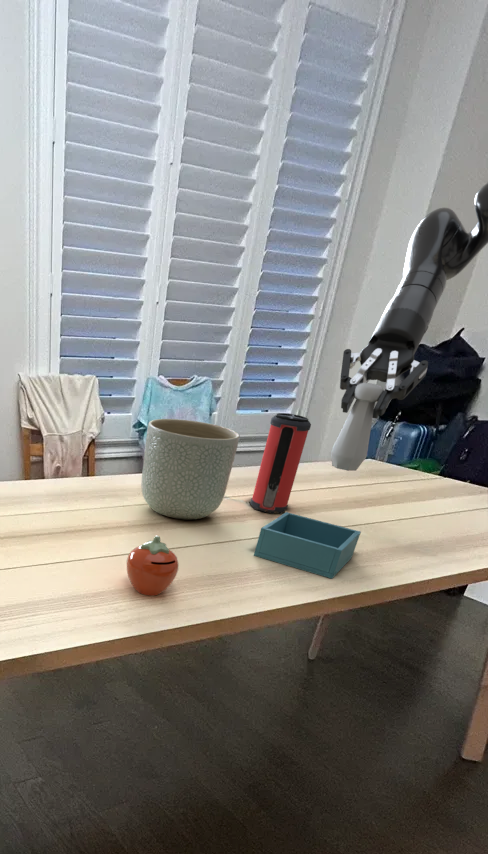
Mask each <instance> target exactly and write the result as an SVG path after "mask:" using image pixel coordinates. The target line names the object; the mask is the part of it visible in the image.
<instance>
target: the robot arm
mask: <svg viewBox="0 0 488 854" xmlns="http://www.w3.org/2000/svg"><path fill="white" fill-rule="evenodd" d="M473 204H474V210H475V214H476V219H477V223H476V224H475V226H474V227H473V228H472V229H471V230H470V231H469V232H467V230H466V228H465V227H464V225H463V223H462V221H461V220H460V217H459V216H458V215H457V213H456V212H455V211H454V210H453V209H451V208H449V207H438V208H436V209H434V210H432V211H430V212H429V213H428V214H426V215H425V217H423V218H422V219H421V220H420V221H419V223H418V225H417V226H416V228H415V229H414V231H413V233H412V234H411V237H410V240H409V242H408V245H407V249H406V255H405V262H404V265H403V270H402V279H401V280H400V282H399V284H398V286H397V288H396V289H395V293H394V294H393V296H392V298H391V299H390V300H389V302H388V303H387V305H386V307H385V309H384V311H383V313H382V315H381V317H380V318H379V321H378V323H377V325H376V327H375V328H374V331H373V333H372V335H371V337H370V339H369V340H368V343H367V345H366V346H365V347H363V348H362V349H361V350H360V351H357V352H352V349H350V348H346V349H345V350H344V351H343V353H342V362H341V370H340V379H339V380H340V381H339V383H340V384H339V390H342V391H344V390H345V391H344V394H343V396H342V398H341V403H340V409H341V410H342V413H344V414H348V412H349V410H350V408H351V406H352V404H353V402H354V400H355V398H354V391H355V389H356V387H357V385H359V384H361V383H369V382H370V381H379V382H381V383H385V388H384V389H383V391H382V393H381V395H380V398H379V400H378V402H376V403H375V406H374V411H373V417H372V419H378V418H379V416H381V417H382V416H383V415H384V414H385V413H386V410H387V408H388V407H389V404H390V402H391V401H392V400H394V399H397V400H398V401H403V400H404V399H406V397H408V395H409V394H410V393H411V392H412V391H413V390H414V389H415V388H416V387H417V386H418V384H419V383H421V381H422V380H423V379H424V378H425V377H426V375H427V371H428V366H429V361H428V360H425V359H424V360H421V361H420V362H419V361H418V360H415V354H416V352H417V350H418V348H419V346H420V344H421V342H422V340H423V337H424V335H425V334H426V333H427V332H428V331H427V330H428V329H429V325H430V323H431V321H432V319H433V315H434V312H435V310H436V308H437V305H438V303H439V301H440V299H441V297H442V295H443V293H444V291H445V288H446V285H447V281H449V280H451V279H453V278H454V277H456V276H457V275H459V274H460V273H461V272H462V271H464V269H465V268H466V267H467V266H468V265H469V264H470V263H471V262H472V261H473V260H474V259H475V258H476V256H477V255H478V254H479V253H480V252H481V251H482V250H483V249H484V248H485V247H486V246H487V245H488V182H486V183H485V184H484V185H482V186H481V187H480V189H479V190H478V191H477V192H476V194H475V195H474V200H473ZM357 362H359V363H360V367H359V368H358V369H357V372H356V373H355V374H354V376H352V377H350V370H352V369H353V368H354V367H355V366H356V364H357ZM409 370H410V371H409ZM408 371H409V374H408V375H407V376H406V377H405V378H404V379H403V380H402V382H400V383H399V384H398V385H395V384H396V378H397V377H399V376H401V375H402V374H404V373H405V372H408Z"/></svg>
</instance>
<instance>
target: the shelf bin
mask: <svg viewBox="0 0 488 854" xmlns="http://www.w3.org/2000/svg"><path fill="white" fill-rule="evenodd" d="M361 533H362V532H361V530H357V529H352V528H348V527H345V526H341V525H337V524H334V523H330V522H326V521H323V520H318V519H314V518H310V517H307V516H304V515H300V514H295V513H292V512H288V511H285V512H283V513H282V514H281V515H279V516H278V517H276V518H275V519H273V520H272V521H270V522H268V523H267V524H265V525H264V526H262V527H261V528H260V530H259V535H258V538H257V541H256V546H255V550H254V554H253V556H254V557H258V558H260V559H265V560H268V561H271V562H275V563H277V564H281V565H284V566H288V567H291V568H295V569H298V570H301V571H304V572H307V573H312V574H314V575H318V576H321V577H324V578H329V579H333V578H334V577H335V576H336V575H338V573H339V572H340V571H341V570H342V569H343V568H344V567H345V566H346V565H347V563H348V562H350V561H351V559H352V558H353V555H354V553H355V550H356V548H357V544H358V541H359V539H360V535H361Z"/></svg>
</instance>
